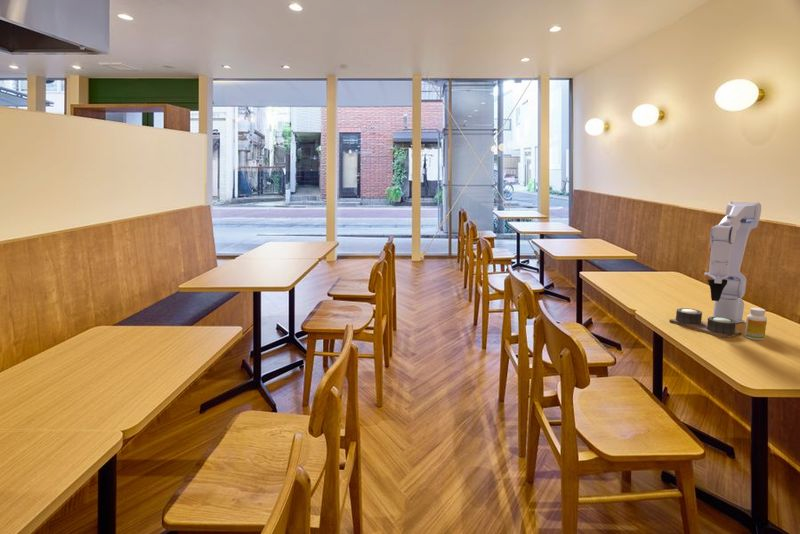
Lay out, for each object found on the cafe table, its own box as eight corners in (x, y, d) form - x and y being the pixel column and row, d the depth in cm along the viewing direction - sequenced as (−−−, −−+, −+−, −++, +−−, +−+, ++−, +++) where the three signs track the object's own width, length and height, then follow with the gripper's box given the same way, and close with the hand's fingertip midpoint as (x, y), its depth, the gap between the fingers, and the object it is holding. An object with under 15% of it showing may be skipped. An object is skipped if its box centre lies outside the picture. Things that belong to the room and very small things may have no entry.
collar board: (686, 319, 188) (688, 307, 187) (741, 334, 170) (742, 321, 169) (669, 321, 184) (670, 309, 184) (722, 337, 166) (724, 324, 165)
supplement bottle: (767, 340, 163) (771, 311, 161) (748, 339, 164) (752, 310, 163) (759, 335, 168) (763, 307, 167) (741, 334, 169) (744, 306, 168)
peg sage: (718, 326, 175) (719, 316, 174) (732, 330, 170) (734, 320, 170) (708, 328, 173) (709, 318, 172) (722, 332, 168) (724, 322, 168)
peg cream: (686, 317, 186) (687, 308, 185) (699, 321, 181) (700, 311, 180) (677, 319, 184) (678, 309, 183) (689, 323, 179) (690, 313, 178)
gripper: (705, 257, 179) (701, 294, 181) (705, 263, 167) (701, 303, 169) (729, 258, 175) (725, 297, 178) (731, 265, 163) (726, 306, 165)
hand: (715, 300), depth 173 cm, fingers closed
